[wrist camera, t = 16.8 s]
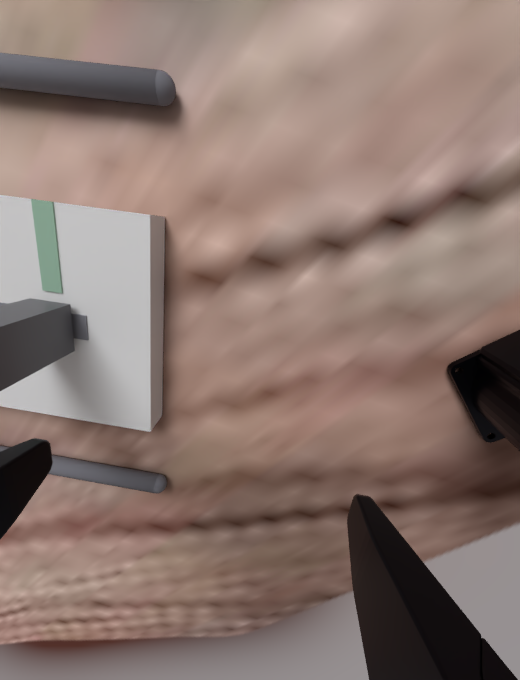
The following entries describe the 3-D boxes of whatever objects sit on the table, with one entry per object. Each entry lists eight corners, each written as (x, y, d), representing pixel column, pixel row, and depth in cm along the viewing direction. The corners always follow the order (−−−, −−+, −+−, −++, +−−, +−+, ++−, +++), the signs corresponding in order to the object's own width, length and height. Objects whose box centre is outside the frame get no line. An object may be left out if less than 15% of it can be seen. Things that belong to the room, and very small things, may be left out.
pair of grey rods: (180, 67, 15) (165, 44, 13) (169, 489, 25) (159, 510, 23) (-206, 26, 16) (-270, -1, 15) (-73, 445, 26) (-101, 462, 24)
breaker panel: (165, 216, 18) (149, 214, 16) (162, 415, 23) (149, 432, 21) (-145, 175, 19) (-196, 168, 17) (-84, 374, 24) (-118, 386, 22)
